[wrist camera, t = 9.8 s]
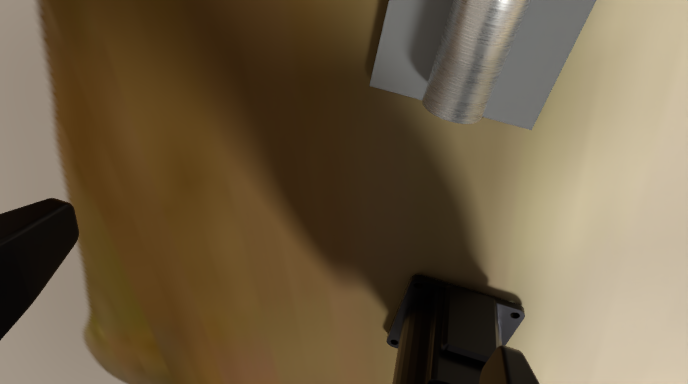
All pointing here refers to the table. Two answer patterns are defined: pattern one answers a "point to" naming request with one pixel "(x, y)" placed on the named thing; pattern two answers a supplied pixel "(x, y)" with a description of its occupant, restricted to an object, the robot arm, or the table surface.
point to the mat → (519, 67)
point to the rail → (471, 57)
